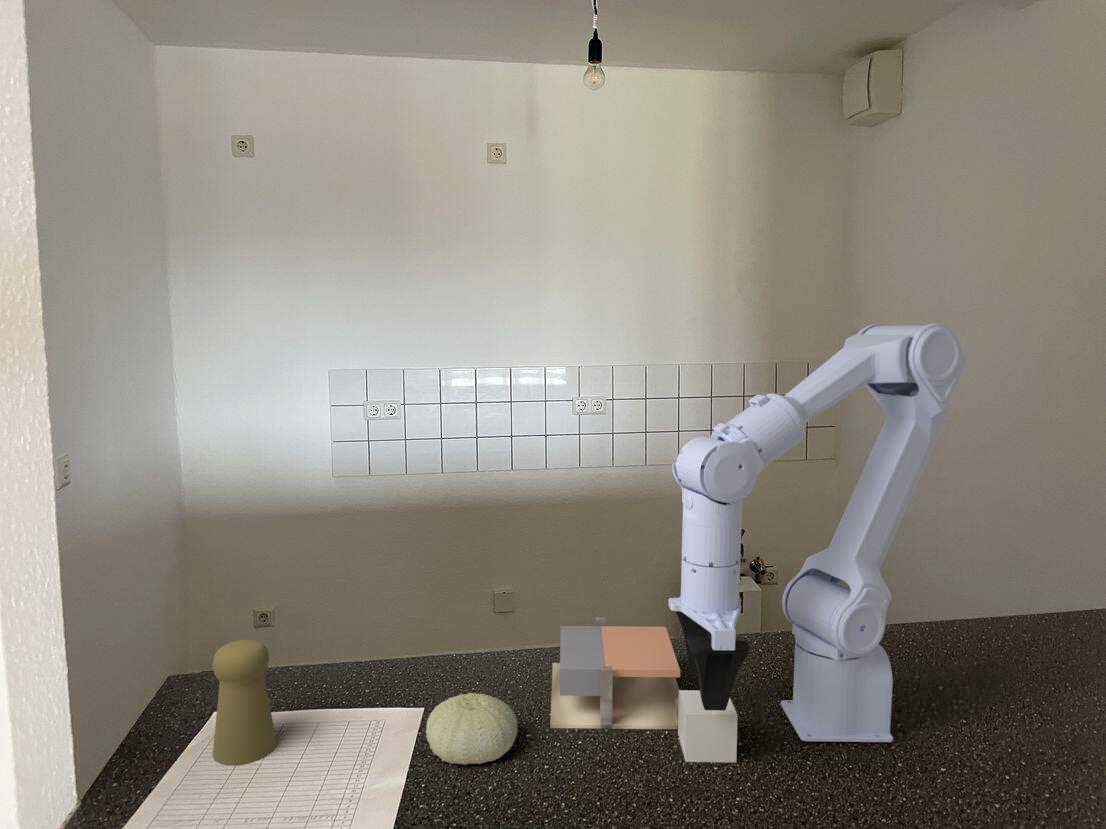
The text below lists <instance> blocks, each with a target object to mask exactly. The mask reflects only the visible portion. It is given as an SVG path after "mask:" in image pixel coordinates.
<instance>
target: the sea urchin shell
mask: <svg viewBox="0 0 1106 829" xmlns="http://www.w3.org/2000/svg"><path fill="white" fill-rule="evenodd" d="M434 707H435V708H433V710H432V711H431V712H429V713H430V714H429V716H428V718H427V721H426V726H425V727H426V729H425V733H426V736H425V738H426V739H427V742H428V744H429V747H430V750H432V753H433V754H434V755H435V756H438V757H439V759H441V761H443V762H444V763H446V762H447V763H449V764H451V765H453V764H458V765H464V766H466V765H470V764H472V765H473V764H478V765H481V764H484V763H489V762H493V761H497V759H500V758H501V757H503V756H504V755H505V754H506V753H507V752H508V751H510V750H511V747H513V744H514V742H515V741H516V739H517V735H518V731H519V729H518V719H517V716H516V714H515V712H514V710H513V709H512V708H511V707H510V705H509V704H508V703H505V702H504V701H502V700H500V699H498V698H497V697H493V696H491V695H488V694H484V693H476V692H469V693H466V694H463V693H462V694H459V695H455V696H452V697H449V698H448V699H446V700H444V701H442V702H440V703H439V704H438V705H436V706H434Z"/></svg>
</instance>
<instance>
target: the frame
mask: <svg viewBox="0 0 1106 829" xmlns="http://www.w3.org/2000/svg"><path fill="white" fill-rule="evenodd" d="M606 619H607V618H606V616H595V626H606V625H607V624H606ZM551 674H552V676H551V694H550V695H551V702H550V721H549V722H550V723H549V724H550V725H549V726H550V729H599V730H600V729H602V730H603V729H608V730H609V729H612V730H613V729H614V730H617V729H618V730H620V729H621V730H678V708H679V690H680V688H679V685H678V681H677V677H612V674H613V670H612V666H601V696H560V662H552V673H551Z"/></svg>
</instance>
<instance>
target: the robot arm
mask: <svg viewBox="0 0 1106 829" xmlns="http://www.w3.org/2000/svg"><path fill="white" fill-rule="evenodd" d="M966 364H967V360H966V359H965V356H964V353H963V349H962V347H961V343H960V341H959V337H958V336H957V334H956V333H955V331H954V330H953V329H952V328H951V327H950V326H947V325H945V324H943V323H930V324H929V323H928V324H925V325H923V324H920V325H918V324H917V325H916V324H914V325H910V324H909V325H885V324H884V325H883V324H877V323H876V324H869V325H867V326H865V327H863V328H862V329H861V330H860V331H858V333H856V334H853V335H851V336H849V337H847V338H846V339H845V341H844V345H843V347H842V348H841V349H840V350H838V351H837V352H836V353H835V354H834V355H832V356H831V357H830V358H828V360H826V361H825V362H824V363H822V365H820V366H819V367H818V368H816V369H815V370H814V371H813V372H812V373H811V374H809V375H808V376H807V377H806V378H805V379H803V380H802V381H801V382H800V383H798V384H797V385H796V386H794V388H792V389H791V390H790V391H788V392H787V393H786V394H784V395H781V394H778V393H773V392H772V393H767V394H764V395H763V394H756V395H754V396H752V398H750V399H749V400H748V404H749V405H750V406H749V407H747V408H745V409H744V410H742V411H741V412H740V413H739V414H737V415H736V416H734V417H733V418H732V419H730V420H729V421H727V422H726V423H721V422H720V423H718V424H717V425H716V426H714V427H713V432H712V433H711V435H710V437H709V436H697V437H694V438H692V439H690V440H689V441H687V442H686V443H685V444H684V445H683V447H681V449H680V452H679V453H678V455H677V459H676V462H674V463H671V471H672V474H673V478H674V480H675V481H676V483H677V485H678V486H679V487H680V489H681V494H682V495H681V502H682V527H681V528H682V529H681V530H682V531H681V537H682V538H681V566H680V567H681V570H680V595H679V596H678V597H670V598H668V607H669V610H670V611H672V612H675V613H676V615H677V618H678V620H679V623H680V626H681V629H682V634H683V640H684V646H685V647H684V648H685V652H686V653H685V654H686V660H687V664H688V668H689V671H690V674H691V675H698V683H699V684H698V687H699V690H700V695H701V700H702V704H703V707H704V710H726V707H727V705H728V701H729V698H730V699H731V694H732V690H733V686H734V682H735V680H736V677H737V675H738V673H739V670H740V668H741V666H742V664H744V662H745V660H746V659H747V658H748V656H749V654H750V651H751V649H750V648H751V647H750V645H749V643H748V642H747V640H736V639H737V638H736V637H737V631H736V626H737V623H738V620H739V618H740V615H741V611H742V603H741V602H740V583H741V582H740V581H741V578H740V577H741V550H742V548H741V547H742V521H743V517H742V516H743V498H747V497H748V496H749V495H750V493H751V492H752V491H753V489H754V487H755V485H756V482H757V479H758V476H759V475H760V473H761V472H763V471H764V468H766V467H768V466H769V465H770V464H771V463H773V462H774V461H775V460H777V459H778V458H780V457H781V456H782V455H783V454H785V453H786V452H788V451H789V450H790V449H792V448H793V447H795V446H796V445H797V444H799V443H800V442H801V441H802V440H804V438H805V436H806V434H807V433H806V432H807V423H808V422H809V421H810V420H812V419H813V418H815V417H817V416H818V415H819V414H821V413H823V412H825V411H826V410H828V409H829V408H831V407H832V406H834V405H836V404H837V403H839V402H840V401H842V400H843V399H845V398H847V397H848V396H849V395H851V394H852V393H854V392H855V391H857V390H859V389H861V388H862V387H864V386H865V387H866V389H867V391H869V393H870V394H871V396H872V397H873V398H874V399H875V401H876V403H877V404H878V405H880V407H881V408H882V410H883V414H884V415H885V420H884V423H883V425H882V428H881V430H880V432H879V434H878V436H877V439H876V441H875V443H874V445H873V448H872V449H871V452H870V454H869V456H868V459H867V460H866V463H865V465H864V468H863V469H862V472H861V474H860V477H859V478H858V481H857V483H856V485H855V488H854V489H853V493H852V494H851V496H850V498H849V501H848V504H847V505H846V508H845V510H844V513H843V514H842V516H841V519H840V521H839V523H838V526H837V528H836V530H835V532H834V534H833V537H832V539H831V542H830V543H829V545H828V547H826V548H825V549H823V550H820V551H819V552H816V553H814V554H812V555H810V556H808V557H807V558H806V559H805V562H804V564H803V566H802V567H801V569H800V570H799V572H798V573H797V574H796V575H794V577H792V578H791V579H790V581H789V582H788V583H787V584H786V587H785V588H784V591H783V594H782V597H781V598H782V599H781V606H782V612H783V614H784V616H785V618H786V619H787V620H788V621H789V622H790V623H791V624H792V628H791V629H792V632H791V634H792V635H794V638H795V639H794V640H795V641H794V663H793V664H794V667H793V668H794V669H793V670H794V671H793V694H792V695H793V696H792V700H791V699H790V700H789V699H787V700H784V699H783V700H781V701H780V706H781V708H782V710H783V711H784V713H785V715H786V717H787V718H788V720H789V722H790V724H791V725H792V727H793V728H794V731H795V732H796V734H797V736H798V738H800V740H801V741H804V742H823V743H824V742H830V743H831V742H833V743H838V742H839V743H840V742H841V743H842V742H843V743H849V742H850V743H856V742H857V743H892V742H893V741H894V737H893V735H892V734H891V720H892V703H893V683H894V682H893V681H894V680H893V671H892V666H891V660H890V658H889V656H888V654H887V652H886V651H885V649H884V648H883V646H882V645H880V642H881V641H882V639H883V637H884V634H885V630H886V625H887V624H886V621H887V620H886V619H887V618H886V617H887V612H888V608H889V605H890V603H891V601H892V598H893V595H892V593H891V590H890V589H889V587H888V585H887V584H886V582H885V580H884V578H883V576H882V574H881V568H882V566H883V563H884V561H885V559H886V557H887V554H888V552H889V550H890V547H891V546H892V543H893V541H894V539H895V536H896V535H897V532H898V530H899V527H900V525H901V523H902V520H903V518H904V516H905V513H906V511H907V510H908V507H909V505H910V502H911V500H912V498H913V495H914V493H915V491H916V490H917V487H918V485H919V483H920V480H921V478H922V476H923V474H924V471H925V470H926V467H927V464H928V462H929V460H930V458H931V455H932V453H933V451H934V449H935V446H936V444H937V442H938V439H939V438H940V435H941V433H942V431H943V428H944V426H945V424H946V423H945V422H947V421H946V420H947V417H948V416H947V415H948V410H949V403H950V399H952V398H951V397H952V395H953V393H954V391H955V389H956V386H957V384H958V382H959V380H960V378H961V375H962V372H963V370H964V369H965V366H966ZM839 583H846V584H847V585H848V586H849V588H848V587H845V586H843V585H841V584H839Z"/></svg>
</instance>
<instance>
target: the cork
mask: <svg viewBox="0 0 1106 829" xmlns="http://www.w3.org/2000/svg"><path fill="white" fill-rule="evenodd" d="M269 655H270V654H269V651H268V648H267V647H266V646H265V644H264V643H263V642H262V641H258V640H256V639H238V640H234V641H231V642H228V643H225V644H224V645H222V646H221V647H220V648H218V650H216V652H215V654H214V656H213V660H212V671H213V673H214V675H215V677H216V679H217V680H218V681H219V684H218V696H217V698H218V699H217V704H216V705H217V706H216V716H215V729H214V739H213V747H212V757H213V759H214V761H215V762H217V763H219V764H220V765H225V766H241V765H248V764H251V763H255V762H257V761H259V760H261V759H263V758H265V757H267V756H268V755H269V754H271V753H272V752H273V751H274V750H275V748H276V747H277V737H276V731H275V726H274V725H275V724H274V720H273V715H272V710H271V706H270V700H269V695H268V690H267V683H266V680H265V672H266V671H267V670H268V666H269V659H270V658H269V657H270V656H269Z"/></svg>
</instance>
